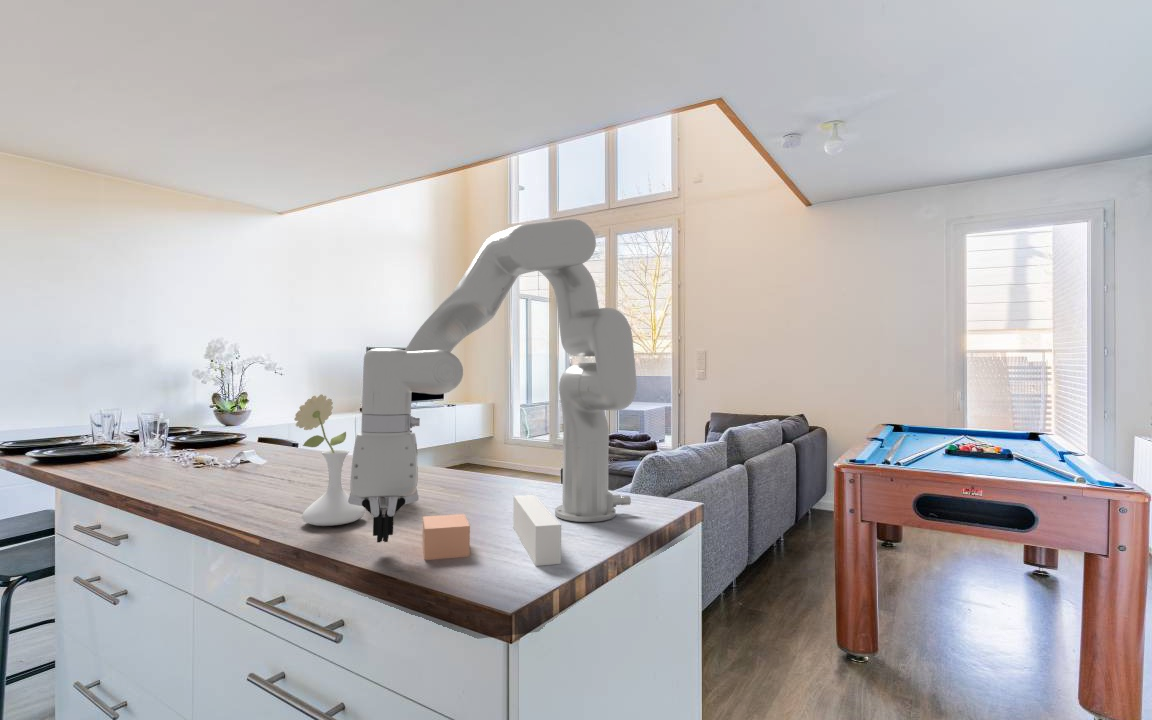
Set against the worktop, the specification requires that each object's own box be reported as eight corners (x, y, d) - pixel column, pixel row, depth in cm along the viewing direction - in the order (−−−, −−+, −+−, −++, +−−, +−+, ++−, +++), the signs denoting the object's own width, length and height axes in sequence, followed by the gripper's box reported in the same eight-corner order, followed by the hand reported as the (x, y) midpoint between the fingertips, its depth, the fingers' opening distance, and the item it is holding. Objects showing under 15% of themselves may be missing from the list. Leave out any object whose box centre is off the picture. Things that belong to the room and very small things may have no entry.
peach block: (464, 542, 97) (464, 514, 97) (469, 557, 90) (469, 526, 90) (422, 546, 95) (422, 516, 95) (424, 561, 87) (424, 529, 88)
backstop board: (533, 526, 107) (534, 494, 108) (560, 563, 86) (561, 524, 86) (513, 527, 106) (513, 495, 106) (535, 565, 85) (535, 526, 85)
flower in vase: (351, 512, 117) (354, 392, 117) (375, 523, 108) (377, 394, 109) (283, 523, 108) (286, 393, 108) (303, 536, 99) (306, 395, 100)
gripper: (433, 423, 96) (430, 531, 95) (340, 423, 92) (336, 536, 91) (434, 427, 89) (431, 544, 88) (332, 427, 85) (328, 549, 84)
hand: (382, 539), depth 90 cm, fingers closed
